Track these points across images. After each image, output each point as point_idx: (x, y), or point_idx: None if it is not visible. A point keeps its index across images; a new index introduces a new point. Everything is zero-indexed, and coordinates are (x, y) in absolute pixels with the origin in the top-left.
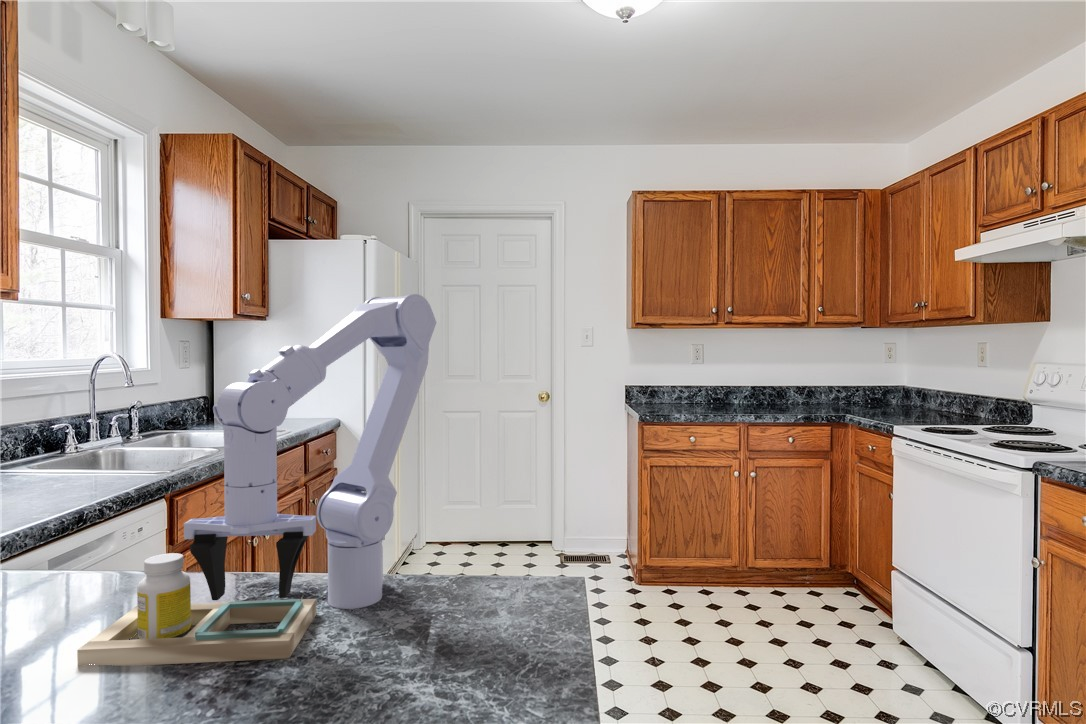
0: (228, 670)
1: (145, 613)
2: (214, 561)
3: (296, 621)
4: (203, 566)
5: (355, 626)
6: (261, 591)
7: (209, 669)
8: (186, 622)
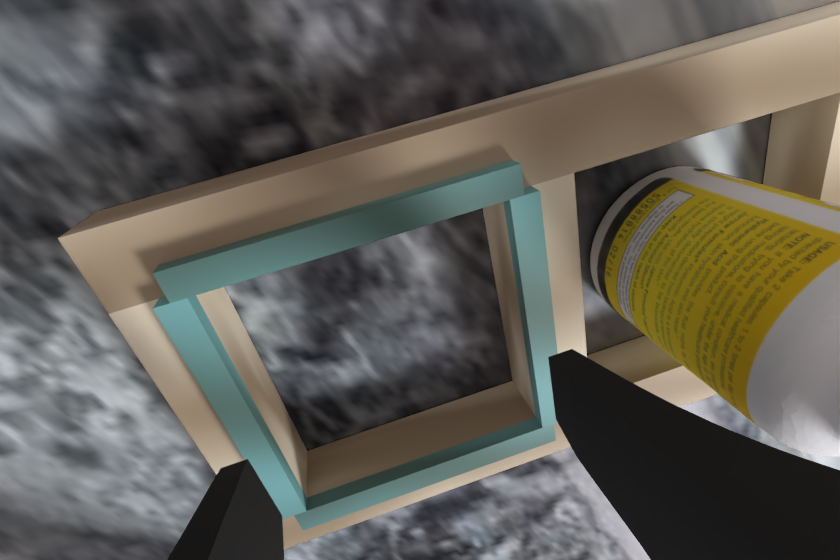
0: (284, 68)
1: (810, 199)
2: (722, 533)
3: (193, 400)
4: (769, 459)
5: (53, 481)
6: (538, 548)
7: (371, 65)
8: (625, 279)
